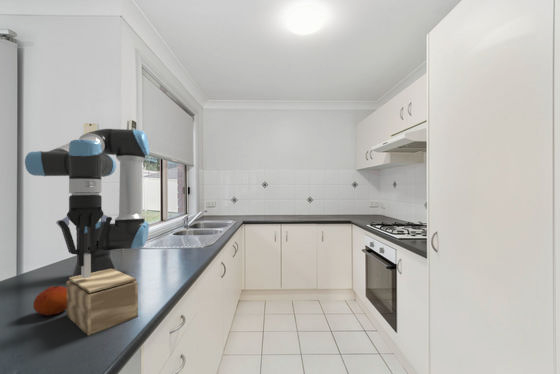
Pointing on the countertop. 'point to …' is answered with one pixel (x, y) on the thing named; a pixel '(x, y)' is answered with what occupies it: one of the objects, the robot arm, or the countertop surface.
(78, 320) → the wooden box
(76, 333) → the countertop surface
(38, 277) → the countertop surface
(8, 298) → the countertop surface
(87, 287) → the flap
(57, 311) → the fruit
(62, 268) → the countertop surface
